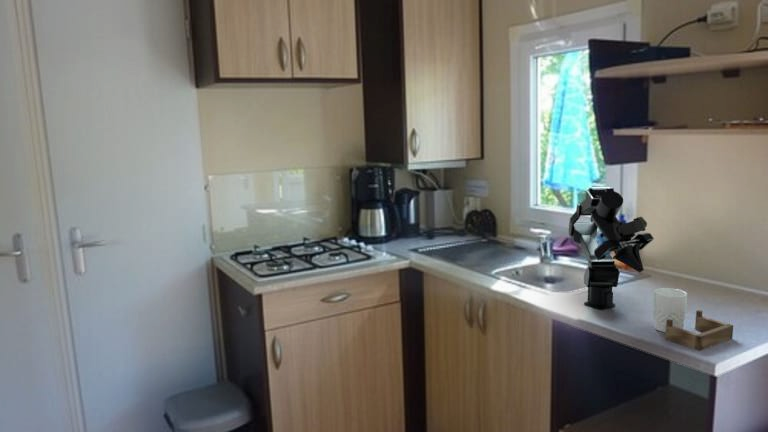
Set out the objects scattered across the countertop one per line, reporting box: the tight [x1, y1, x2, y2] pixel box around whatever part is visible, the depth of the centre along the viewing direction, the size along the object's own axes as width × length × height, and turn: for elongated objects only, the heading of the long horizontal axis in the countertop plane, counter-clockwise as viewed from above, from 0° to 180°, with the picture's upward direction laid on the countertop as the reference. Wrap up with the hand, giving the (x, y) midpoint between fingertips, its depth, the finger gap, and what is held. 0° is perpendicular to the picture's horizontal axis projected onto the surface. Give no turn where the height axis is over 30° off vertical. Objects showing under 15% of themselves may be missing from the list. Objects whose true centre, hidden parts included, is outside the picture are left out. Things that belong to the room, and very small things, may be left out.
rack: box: [664, 309, 734, 352], centre depth 147 cm, size 9×13×5 cm
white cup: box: [653, 287, 688, 334], centre depth 154 cm, size 8×8×10 cm
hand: (641, 271), depth 160 cm, fingers closed
